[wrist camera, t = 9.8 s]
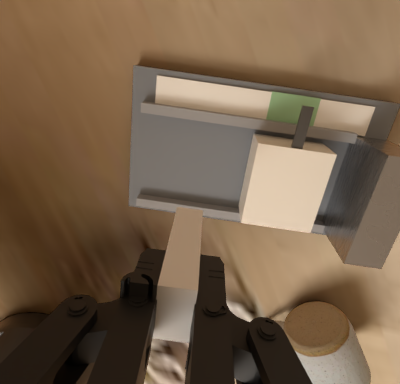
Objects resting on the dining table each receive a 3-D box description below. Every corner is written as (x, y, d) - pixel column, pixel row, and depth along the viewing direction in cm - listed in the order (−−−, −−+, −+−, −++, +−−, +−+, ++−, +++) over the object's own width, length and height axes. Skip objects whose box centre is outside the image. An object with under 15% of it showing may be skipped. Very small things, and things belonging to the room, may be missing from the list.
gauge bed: (131, 200, 30) (125, 210, 28) (137, 65, 25) (130, 65, 23) (342, 231, 30) (351, 243, 28) (393, 102, 25) (408, 105, 23)
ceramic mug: (335, 288, 33) (364, 348, 26) (354, 336, 36) (385, 402, 29) (248, 313, 36) (253, 374, 29) (271, 356, 39) (281, 421, 32)
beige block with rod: (238, 205, 28) (240, 222, 25) (261, 96, 24) (267, 101, 21) (300, 214, 28) (310, 233, 25) (334, 106, 24) (351, 113, 21)
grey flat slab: (316, 219, 30) (343, 263, 23) (346, 132, 26) (388, 155, 20) (345, 223, 30) (381, 269, 23) (379, 136, 26) (433, 161, 20)
